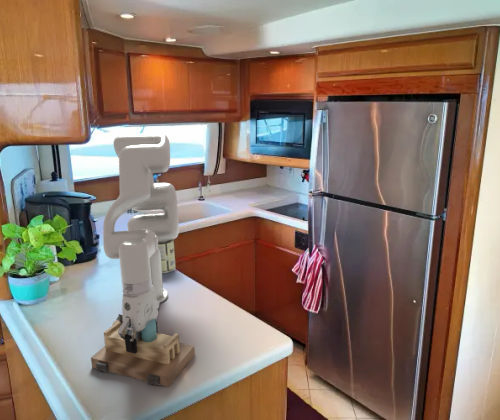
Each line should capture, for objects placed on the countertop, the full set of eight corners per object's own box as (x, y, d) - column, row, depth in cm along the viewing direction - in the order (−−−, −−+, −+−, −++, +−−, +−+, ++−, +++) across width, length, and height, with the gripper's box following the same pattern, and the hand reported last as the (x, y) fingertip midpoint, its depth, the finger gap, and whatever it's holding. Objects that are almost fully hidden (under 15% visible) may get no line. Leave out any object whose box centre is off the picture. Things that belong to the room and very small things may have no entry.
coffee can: (153, 264, 181) (151, 234, 177) (177, 263, 181) (175, 233, 177) (149, 273, 171) (146, 242, 167) (173, 273, 171) (171, 241, 168)
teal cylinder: (138, 340, 110) (137, 324, 109) (147, 332, 113) (146, 316, 112) (151, 343, 108) (150, 326, 107) (159, 335, 112) (158, 319, 111)
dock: (89, 369, 110) (88, 359, 109) (124, 339, 124) (123, 330, 123) (166, 389, 102) (165, 379, 101) (194, 355, 116) (194, 345, 115)
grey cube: (124, 337, 111) (123, 324, 110) (133, 330, 115) (132, 317, 114) (137, 340, 110) (135, 327, 109) (145, 332, 113) (144, 320, 112)
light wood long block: (105, 350, 114) (103, 332, 112) (119, 338, 119) (117, 321, 118) (168, 364, 107) (166, 346, 105) (179, 351, 112) (178, 334, 111)
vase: (120, 326, 131) (119, 310, 130) (131, 332, 128) (131, 315, 127) (106, 334, 127) (105, 317, 125) (117, 340, 124) (116, 323, 122)
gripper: (128, 301, 98) (135, 363, 103) (167, 273, 114) (171, 328, 118) (103, 297, 101) (110, 357, 105) (144, 270, 116) (149, 324, 121)
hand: (142, 342), depth 112 cm, fingers open, 9 cm apart
